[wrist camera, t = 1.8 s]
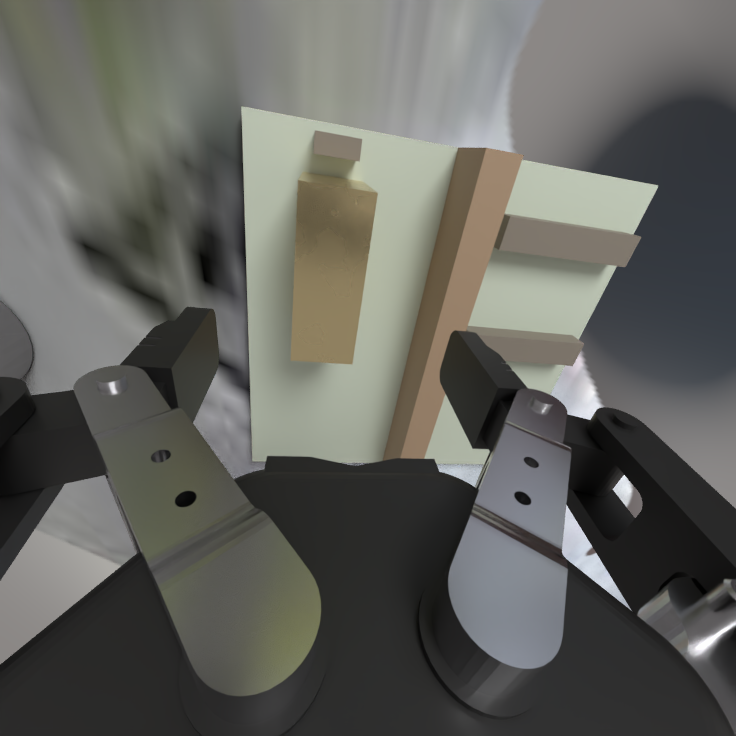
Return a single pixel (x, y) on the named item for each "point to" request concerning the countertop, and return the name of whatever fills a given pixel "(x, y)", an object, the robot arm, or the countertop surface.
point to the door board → (421, 282)
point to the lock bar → (330, 266)
